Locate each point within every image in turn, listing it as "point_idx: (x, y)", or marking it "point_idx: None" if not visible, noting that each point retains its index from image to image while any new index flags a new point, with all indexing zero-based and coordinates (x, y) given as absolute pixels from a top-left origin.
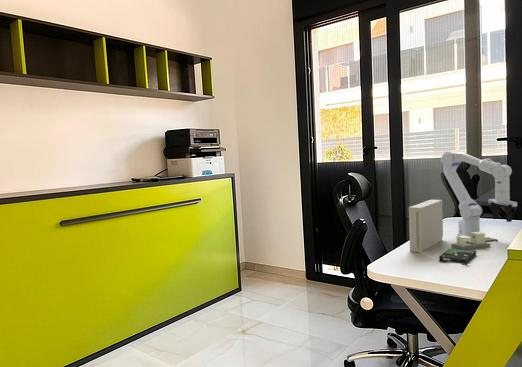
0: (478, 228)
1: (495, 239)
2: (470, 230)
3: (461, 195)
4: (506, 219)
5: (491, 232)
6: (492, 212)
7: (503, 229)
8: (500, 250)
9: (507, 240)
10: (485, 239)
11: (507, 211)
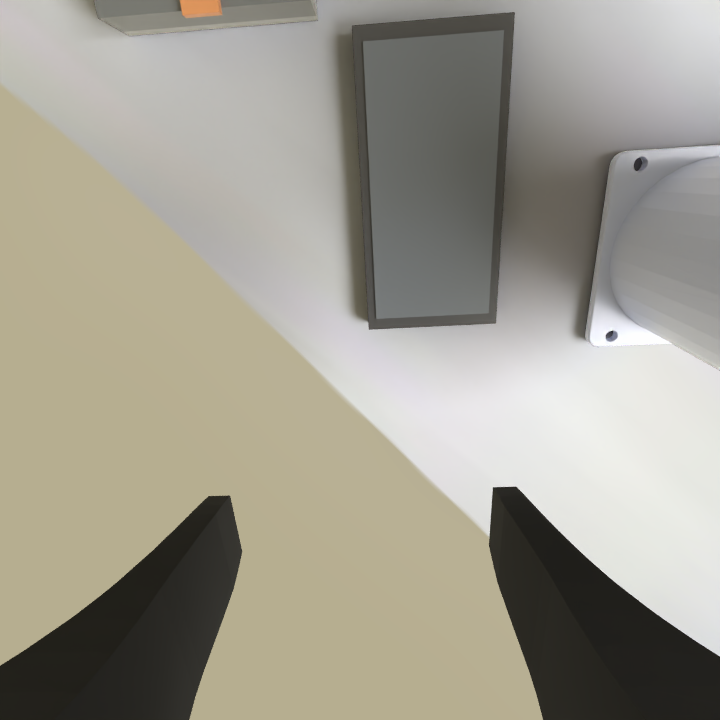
0: (667, 311)
1: (375, 310)
2: (704, 190)
3: None
4: (209, 513)
5: (689, 517)
6: (573, 571)
7: (703, 643)
8: (18, 74)
9: (376, 425)
10: (413, 212)
11: (30, 654)
